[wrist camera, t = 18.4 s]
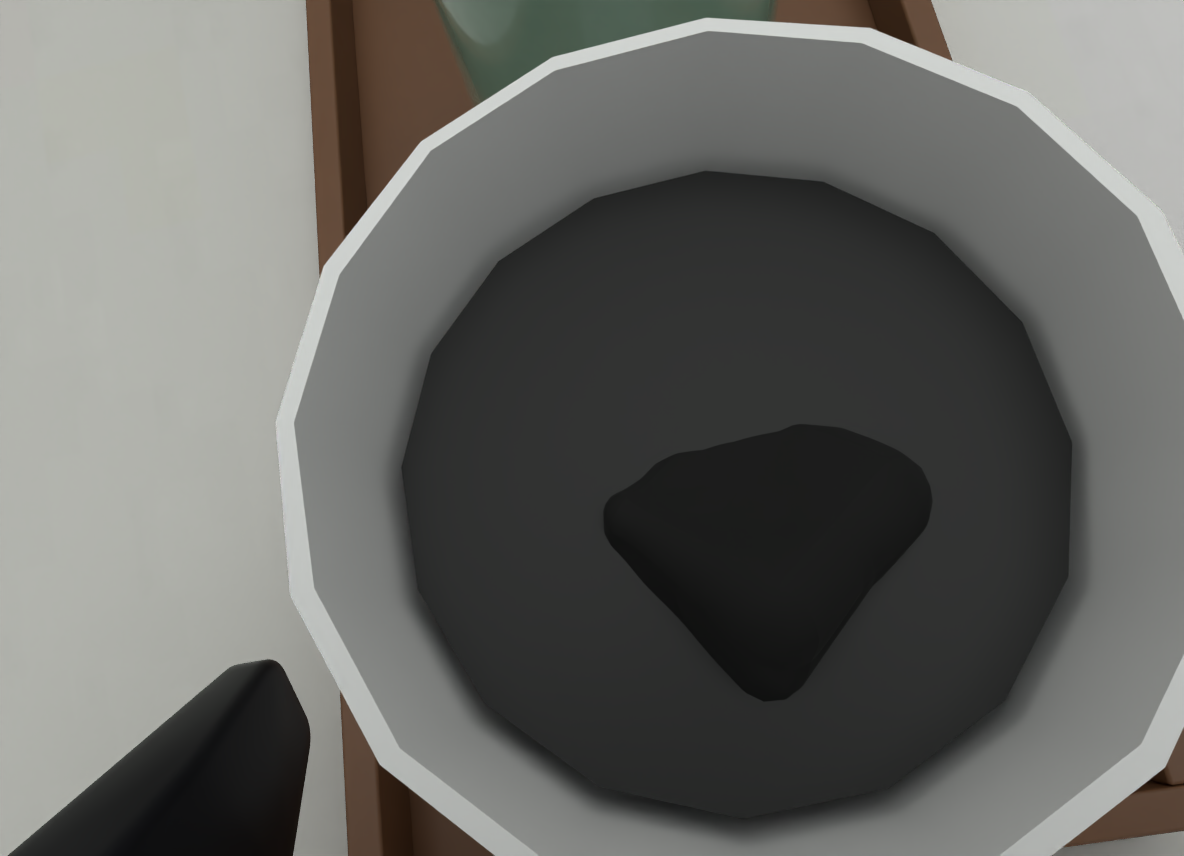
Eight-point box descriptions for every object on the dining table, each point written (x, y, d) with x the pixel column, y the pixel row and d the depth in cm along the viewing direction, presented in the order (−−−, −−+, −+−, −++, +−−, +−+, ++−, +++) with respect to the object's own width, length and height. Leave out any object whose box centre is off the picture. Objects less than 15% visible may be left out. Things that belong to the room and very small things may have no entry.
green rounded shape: (783, 248, 17) (856, -102, 9) (521, 298, 17) (387, 1, 10) (729, 37, 19) (755, -404, 11) (492, 86, 19) (360, -307, 12)
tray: (1151, 804, 14) (1228, 825, 12) (397, 911, 15) (350, 947, 13) (745, -409, 24) (750, -508, 22) (318, -304, 25) (285, -390, 23)
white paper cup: (969, 571, 15) (1481, 368, 5) (719, 858, 14) (781, 1251, 4) (694, 343, 17) (699, -111, 7) (459, 582, 16) (102, 429, 6)
